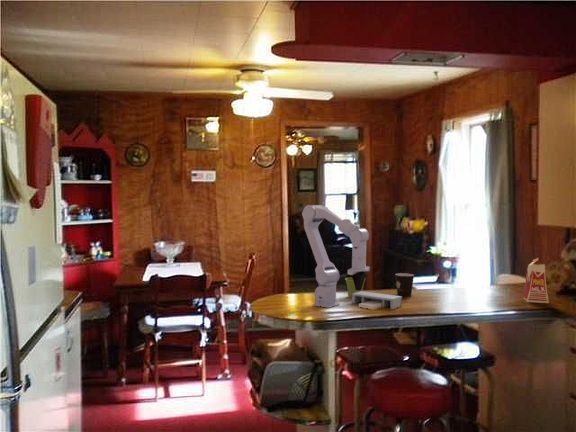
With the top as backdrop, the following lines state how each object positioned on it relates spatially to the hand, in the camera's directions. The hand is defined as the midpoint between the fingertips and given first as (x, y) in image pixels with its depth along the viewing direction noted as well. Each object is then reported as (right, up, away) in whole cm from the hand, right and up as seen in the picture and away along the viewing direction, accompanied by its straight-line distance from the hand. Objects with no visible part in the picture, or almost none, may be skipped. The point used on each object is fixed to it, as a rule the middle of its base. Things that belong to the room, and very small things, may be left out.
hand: (358, 290), depth 237 cm
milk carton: (+84, -8, +24) cm, 88 cm away
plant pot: (+2, -7, +29) cm, 30 cm away
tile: (+7, -9, +9) cm, 15 cm away
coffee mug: (+26, -7, +36) cm, 45 cm away
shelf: (+9, -8, +13) cm, 18 cm away
